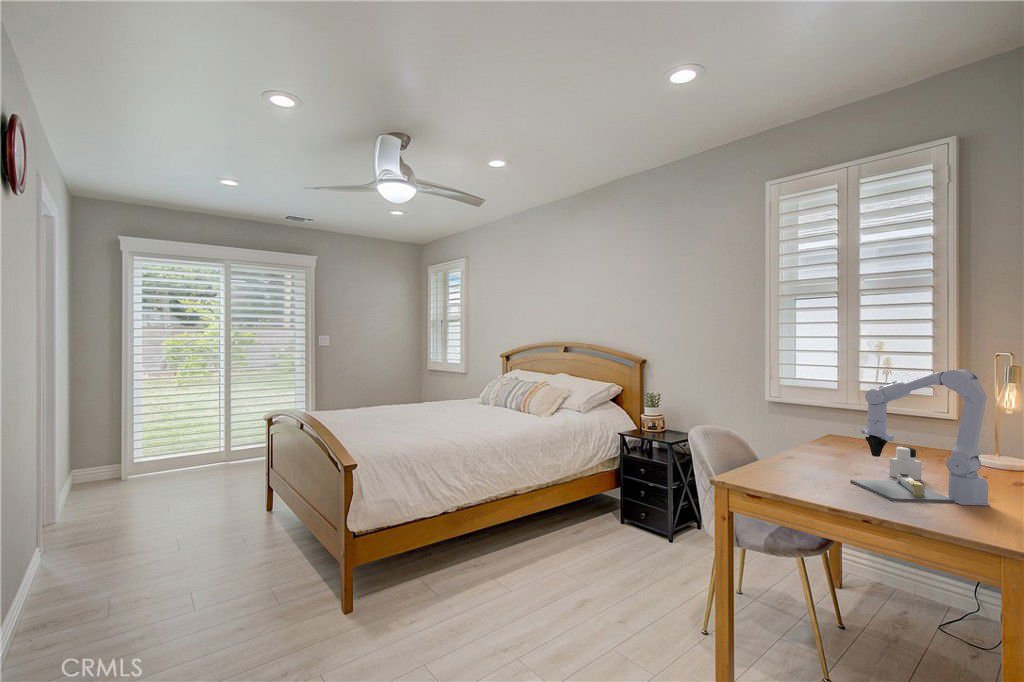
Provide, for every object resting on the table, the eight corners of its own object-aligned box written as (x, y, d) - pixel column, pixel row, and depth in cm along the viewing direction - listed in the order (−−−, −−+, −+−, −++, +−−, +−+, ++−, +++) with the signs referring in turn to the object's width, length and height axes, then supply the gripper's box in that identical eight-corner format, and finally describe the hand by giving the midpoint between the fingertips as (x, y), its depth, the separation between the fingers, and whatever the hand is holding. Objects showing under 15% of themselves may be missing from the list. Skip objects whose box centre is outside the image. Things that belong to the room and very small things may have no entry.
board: (904, 483, 182) (904, 471, 182) (954, 502, 161) (954, 488, 161) (850, 482, 182) (850, 470, 182) (892, 501, 161) (893, 487, 161)
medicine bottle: (901, 474, 194) (902, 444, 193) (921, 479, 187) (922, 448, 187) (889, 476, 191) (889, 445, 191) (908, 481, 184) (909, 450, 184)
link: (895, 480, 181) (895, 474, 181) (908, 481, 179) (908, 475, 179) (911, 493, 166) (911, 486, 166) (926, 494, 164) (926, 487, 164)
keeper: (906, 491, 169) (907, 479, 169) (918, 492, 168) (918, 480, 168) (912, 496, 164) (912, 483, 163) (924, 497, 162) (924, 485, 162)
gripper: (853, 417, 191) (852, 451, 192) (880, 423, 177) (879, 460, 177) (871, 417, 191) (870, 451, 191) (899, 424, 177) (898, 461, 177)
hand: (876, 456), depth 184 cm, fingers closed
